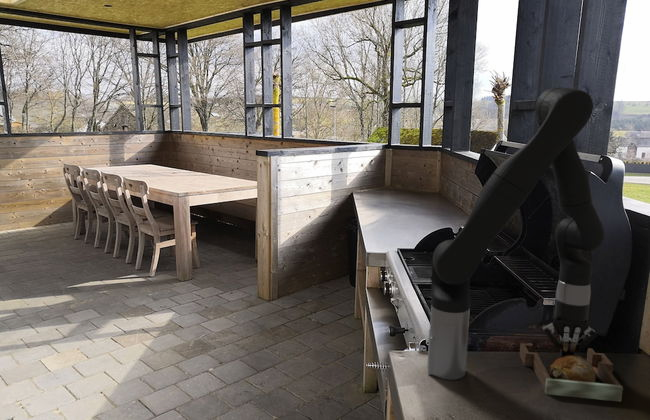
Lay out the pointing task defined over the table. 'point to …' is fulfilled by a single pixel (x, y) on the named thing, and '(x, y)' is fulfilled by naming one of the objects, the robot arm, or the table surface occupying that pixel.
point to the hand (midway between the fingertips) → (565, 363)
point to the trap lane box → (580, 389)
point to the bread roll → (572, 369)
